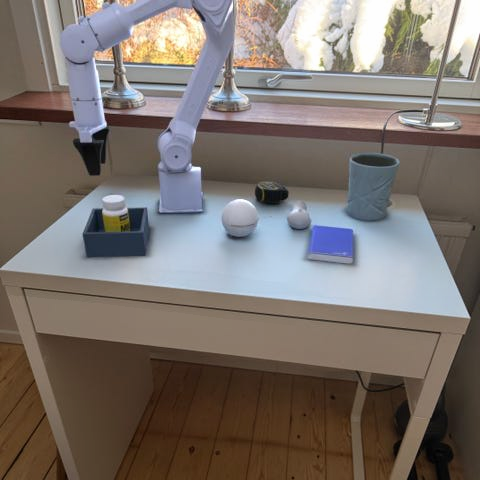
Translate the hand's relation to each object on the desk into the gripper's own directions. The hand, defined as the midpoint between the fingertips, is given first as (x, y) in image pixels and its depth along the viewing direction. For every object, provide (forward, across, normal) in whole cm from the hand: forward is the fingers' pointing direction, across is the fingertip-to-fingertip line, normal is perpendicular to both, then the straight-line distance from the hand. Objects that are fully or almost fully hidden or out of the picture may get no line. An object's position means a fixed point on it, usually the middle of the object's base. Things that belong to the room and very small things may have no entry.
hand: (97, 169), depth 97 cm
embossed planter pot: (+10, +4, +58) cm, 59 cm away
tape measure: (+10, -5, +38) cm, 40 cm away
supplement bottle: (+9, +16, +5) cm, 19 cm away
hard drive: (+10, +20, +46) cm, 51 cm away
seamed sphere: (+10, +14, +30) cm, 34 cm away
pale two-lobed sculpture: (+10, +9, +42) cm, 44 cm away
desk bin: (+9, +16, +5) cm, 19 cm away
